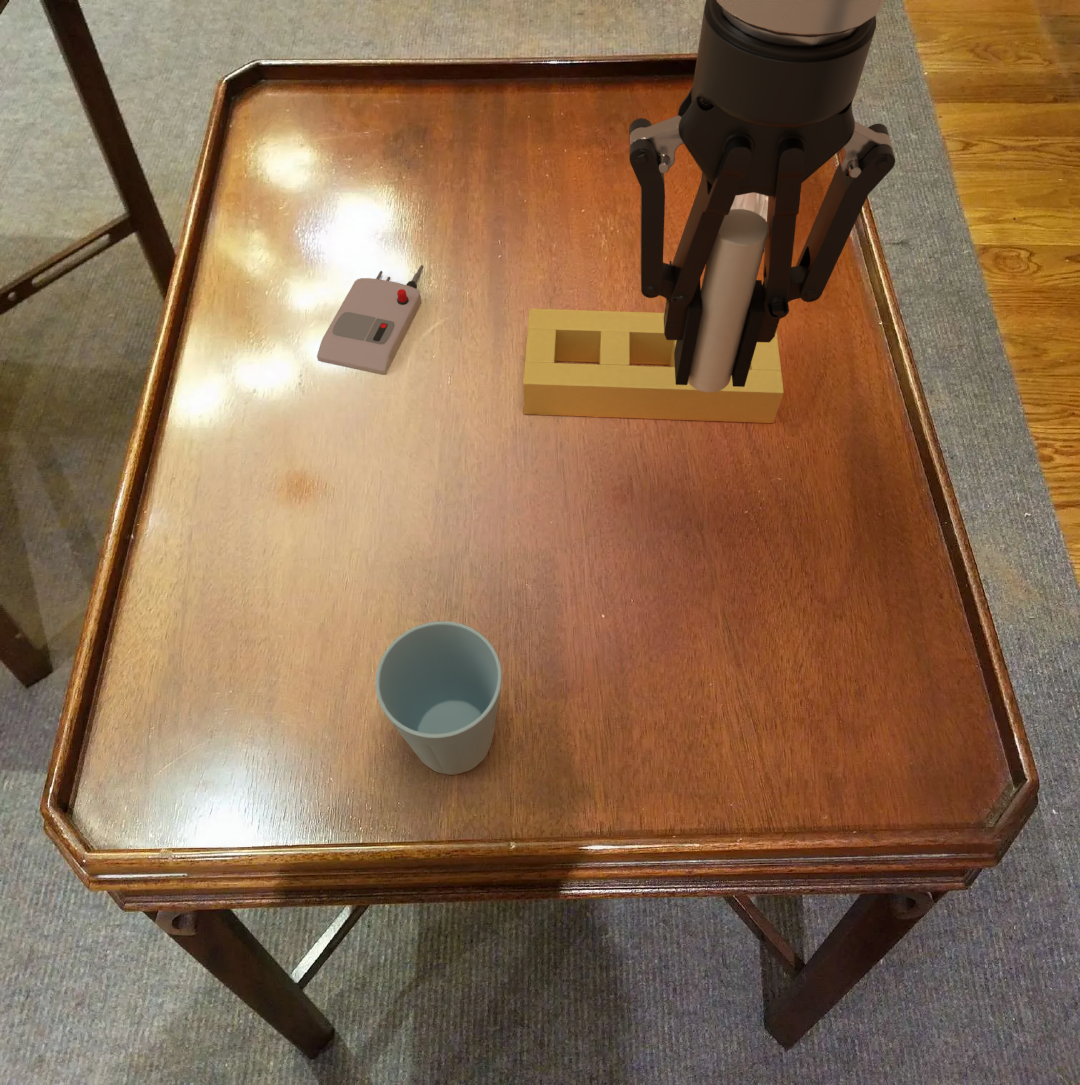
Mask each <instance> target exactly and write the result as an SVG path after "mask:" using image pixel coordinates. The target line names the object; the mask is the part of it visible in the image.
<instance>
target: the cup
mask: <svg viewBox="0 0 1080 1085" xmlns="http://www.w3.org/2000/svg"><path fill="white" fill-rule="evenodd" d="M378 662H379V663H378V665H377V669H376V673H375V680H374V681H375V682H374V684H375V685H374V686H375V692H376V693H375V694H376V697H377V701H378V703H379V706H380V709H381V710H382V711H383V713H384V715H385V716H386V718H387V719H388V720H389V721H390V722H391V724H392V725H393V726H394V728H395V729H396V730H397V731H398V732H399V734H400V735H401V737H402V738H403V739H404V740H405V742H406V743H407V745H408V746H409V747H410V748H411V750H412V751H413V753H415V755H416V756H417V757H418V759H419V760H420V761H421V762H422V763H423V764H424V765H425V766H427V767H428V768H430V769H431V770H432V771H434V772H436V773H438V774H444V775H449V776H450V775H451V776H455V775H459V774H463V773H466V772H470V771H471V770H473V769H475V768H476V767H477V766H478V765H479V764H481V762H483V761H484V760H485V758H486V757H487V755H488V753H489V751H490V749H491V746H492V743H493V739H494V733H495V726H496V720H497V714H498V707H499V701H500V695H501V691H502V690H501V689H502V683H503V682H502V681H503V669H502V665H501V660H500V658H499V655H498V653H497V650H496V649H495V648H494V646H493V644H492V643H491V642H490V640H488V639H487V638H486V636H484V635H483V633H481V632H479V631H478V630H476V629H474V628H473V627H471V626H468V625H467V624H464V623H460V622H457V621H450V620H445V621H444V620H437V621H436V620H435V621H429V622H425V623H421V624H419V625H416V626H414V627H411V628H410V629H409V628H408V630H406V631H404V632H403V633H401V634H400V635H399V636H397V637H396V638H395V639H394V640H393V641H392V642H391V643H390V644H389V645H388V647H387V648H386V650H384V653H383V654H382V656H381V658H380V660H379V661H378Z"/></svg>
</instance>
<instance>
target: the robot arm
mask: <svg viewBox="0 0 1080 1085" xmlns="http://www.w3.org/2000/svg"><path fill="white" fill-rule="evenodd" d="M885 2H886V0H705V3H704V8H703V15H702V20H701V21H702V22H701V28H700V33H699V34H700V35H699V42H698V47H697V48H698V49H697V55H696V60H695V61H696V62H695V68H694V76H693V82H692V84H691V88H690V90H689V92H688V93H687V95H686V96H685V97H684V99H683V100H682V102H681V103H680V105H679V108H678V111H677V115H675V116H672V117H670V118H668V119H665V120H662V121H660V122H656V123H654V124H653V123H652V122H651V121H650V120H648V119H647V118H644V117H641V118H636V119H635V120H632V122H631V123H630V124H629V128H628V137H629V138H628V148H629V149H628V150H629V155H628V156H629V164H630V165H631V168H632V170H633V173H634V175H635V177H636V180H637V182H638V185H639V186H640V290H641V291H640V292H641V295H643V297H646V298H648V299H656V298H657V297H659V296H660V297H662V298H664V299H666V300H665V306H664V312H663V313H664V335H665V337H666V340H677V341H676V346H675V352H674V361H675V383H676V385H687V384H688V379H689V374H690V369H691V364H692V359H693V354H694V349H695V344H696V339H697V334H698V330H699V325H700V320H701V315H702V299H701V287H702V284H701V278H702V275H703V274H704V271H705V267H706V263H707V260H708V257H709V255H710V252H711V250H712V247H713V245H714V242H715V240H716V237H717V234H718V232H719V229H720V227H721V224H722V222H723V219H724V217H725V215H728V214H729V212H730V209H731V207H732V204H733V202H734V199H735V196H736V195H742V194H748V193H758V194H762V195H765V196H768V210H767V224H768V227H769V233H768V237H767V240H766V244H765V250H764V253H763V270H762V278H763V281H762V279H756V283H755V287H754V291H753V295H752V298H751V302H750V306H749V310H748V314H747V318H746V322H745V325H744V329H743V333H742V337H741V341H740V345H739V349H738V352H737V356H736V360H735V364H734V368H733V372H732V383H733V387H745V383H746V380H747V376H748V372H749V369H750V365H751V362H752V358H753V355H754V351H755V348H756V344H757V342H770V341H771V340H772V339H773V338H774V337H775V333H776V329H777V330H778V327H779V324H780V321H781V319H783V318H785V317H786V316H787V315H788V314H789V312H790V306H789V303H790V302H791V301H794V300H798V299H801V300H802V301H803V302H806V303H813V302H816V301H817V300H819V299H820V298H821V297H822V295H823V293H824V292H825V291H824V290H825V288H826V286H827V285H828V282H829V280H830V278H831V276H832V273H833V271H834V269H835V267H836V265H837V263H838V260H839V258H840V257H841V255H842V252H843V250H844V248H845V245H846V244H847V241H848V239H849V237H850V235H851V233H852V230H853V228H854V226H855V225H856V222H857V220H858V218H859V215H860V214H861V211H862V209H863V208H864V205H865V202H866V200H867V198H868V196H869V194H871V192H872V191H873V190H874V189H875V188H876V187H877V186H878V185H879V184H880V183H881V182H882V180H883V179H884V178H885V177H886V176H887V175H888V174H889V173H890V172H891V171H892V170H893V168H894V167H895V165H896V158H895V154H894V153H895V152H894V150H893V145H892V142H891V137H890V134H889V130H888V127H887V126H886V125H885V124H883V123H874V124H872V125H869V126H868V127H867V126H865V125H863V124H862V123H859V122H858V121H856V120H855V116H854V114H853V102H854V99H855V96H856V94H857V90H858V87H859V84H860V80H861V77H862V74H863V70H864V68H865V64H866V61H867V58H868V54H869V51H870V48H871V45H872V42H873V40H874V39H873V38H874V35H875V31H876V28H877V15H878V13H879V12H880V10H881V9H882V7H883V5H884V4H885ZM681 145H684V147H685V148H686V149H687V151H688V152H689V154H690V156H691V157H692V158H693V161H695V163H696V165H697V167H698V168H699V170H700V171H701V177H700V182H699V185H698V189H697V192H696V194H695V198H694V200H693V203H692V205H691V208H690V211H689V214H688V217H687V219H686V222H685V225H684V228H683V231H682V234H681V237H680V239H679V243H678V245H677V249H676V252H675V254H674V257H673V260H669V263H667V262H664V244H665V242H664V241H665V213H666V212H665V211H666V210H665V209H666V187H665V186H666V185H665V174H668V172H669V171H670V168H671V167H673V165H674V164H675V162H676V161H675V160H676V151H677V149H678V148H679V147H680V146H681ZM836 154H838V158H839V163H838V164H837V167H836V168H835V171H834V174H833V176H832V178H831V181H830V183H829V186H828V188H827V190H826V194H825V195H824V197H823V200H822V203H821V204H820V207H819V209H818V212H817V213H816V217H815V218H814V222H813V223H812V226H811V229H810V231H809V232H808V233H809V234H808V236H807V237H806V241H805V243H804V245H803V247H802V250H801V252H800V255H799V256H798V259H797V262H796V265H795V266H793V265H792V264H793V256H794V255H793V254H794V247H795V246H794V244H795V236H796V235H795V234H796V225H797V224H796V223H797V215H799V212H800V202H801V192H802V184H803V183H804V182H805V181H807V179H809V178H810V177H811V176H812V175H813V174H815V172H817V171H818V170H819V169H820V168H821V167H822V166H824V165H825V164H826V163H828V161H829V160H830V159H832V158H833V157H834V156H835V155H836Z"/></svg>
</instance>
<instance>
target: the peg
mask: <svg viewBox="0 0 1080 1085" xmlns="http://www.w3.org/2000/svg"><path fill="white" fill-rule="evenodd" d="M768 233H769V227H768V224H767V222H766V220H765V219H764V218H763V217H762V216H760V215H759V214H757V213H755V212H753V211H750V210H745V209H732V210H730V212H729V214H728V215H725V217H724V219H723V222H722V224H721V227H720V229H719V232H718V234H717V237H716V240H715V242H714V245H713V247H712V250H711V252H710V255H709V257H708V260H707V263H706V265H705V268H704V271H703V276H702V282H701V283H702V284H701V299H702V315H701V320H700V325H699V330H698V334H697V339H696V344H695V349H694V354H693V359H692V364H691V369H690V374H689V379H688V383H689V384H690V385H691V386H692V387H693V388H695V389H697V390H699V391H702V392H717V391H720V390H722V389H724V388H725V387H726V386H727V385H728V384H729V382H730V379H731V376H732V372H733V368H734V364H735V360H736V356H737V352H738V349H739V345H740V341H741V337H742V333H743V329H744V325H745V322H746V318H747V314H748V310H749V306H750V302H751V298H752V295H753V291H754V287H755V283H756V280H758V275H759V271H760V267H761V263H762V259H763V257H764V253H765V250H764V248H765V244H766V240H767V237H768Z"/></svg>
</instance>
